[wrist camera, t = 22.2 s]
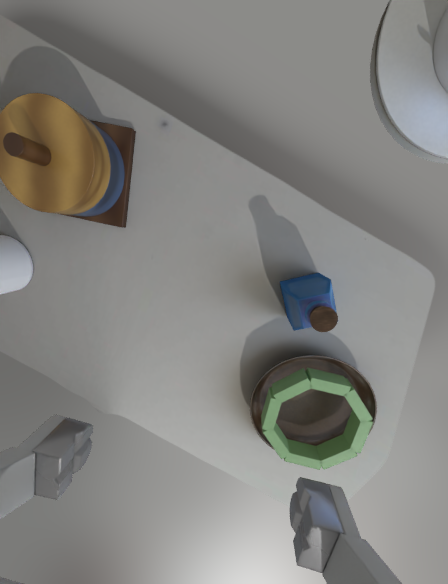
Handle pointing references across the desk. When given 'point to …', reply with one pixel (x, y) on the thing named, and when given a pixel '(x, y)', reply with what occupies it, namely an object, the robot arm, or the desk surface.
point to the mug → (14, 265)
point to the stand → (65, 160)
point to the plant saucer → (311, 402)
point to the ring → (331, 449)
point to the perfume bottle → (310, 302)
